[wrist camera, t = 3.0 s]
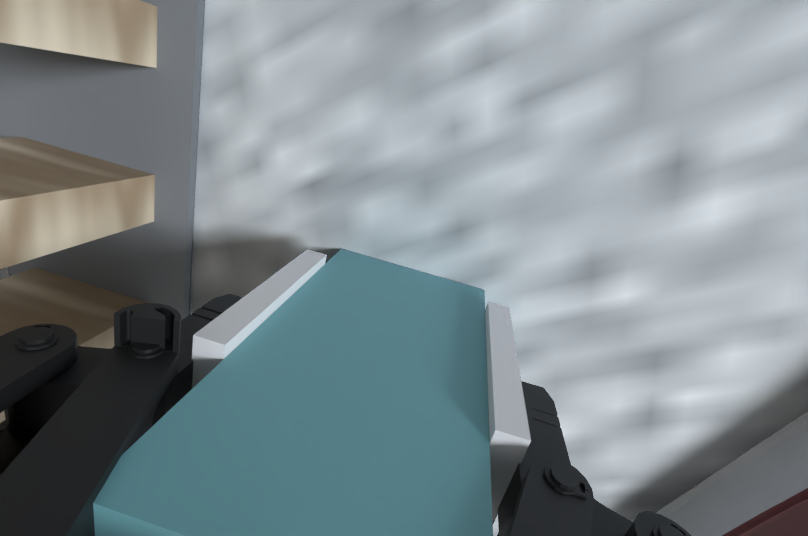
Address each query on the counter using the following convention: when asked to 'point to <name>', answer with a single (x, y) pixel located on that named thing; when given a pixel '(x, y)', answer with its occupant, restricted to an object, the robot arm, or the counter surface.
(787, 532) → the book
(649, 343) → the counter surface
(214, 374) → the tile
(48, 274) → the light wood flat block
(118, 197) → the beige wooden block
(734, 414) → the counter surface
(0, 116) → the runner mat
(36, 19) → the light wood flat block
